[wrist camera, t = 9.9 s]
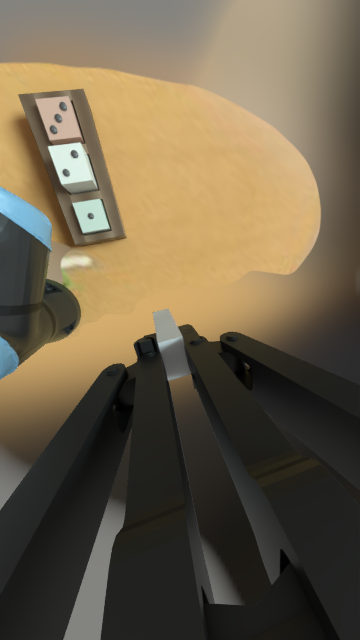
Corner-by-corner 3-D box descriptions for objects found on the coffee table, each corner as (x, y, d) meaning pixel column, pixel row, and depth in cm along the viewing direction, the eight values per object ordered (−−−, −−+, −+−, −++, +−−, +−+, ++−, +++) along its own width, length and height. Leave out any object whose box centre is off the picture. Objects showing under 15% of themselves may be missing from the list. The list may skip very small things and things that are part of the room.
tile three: (63, 158, 33) (49, 139, 28) (51, 123, 31) (34, 98, 26) (89, 154, 33) (80, 135, 28) (79, 120, 32) (67, 94, 27)
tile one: (90, 236, 38) (82, 232, 33) (81, 211, 36) (71, 202, 31) (113, 232, 38) (108, 228, 33) (105, 207, 36) (99, 198, 32)
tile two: (73, 195, 33) (60, 184, 28) (62, 164, 31) (46, 145, 26) (99, 191, 33) (91, 179, 29) (90, 160, 32) (79, 141, 27)
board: (82, 246, 38) (75, 244, 34) (33, 115, 30) (18, 94, 27) (126, 237, 39) (124, 235, 35) (90, 109, 32) (83, 89, 28)
